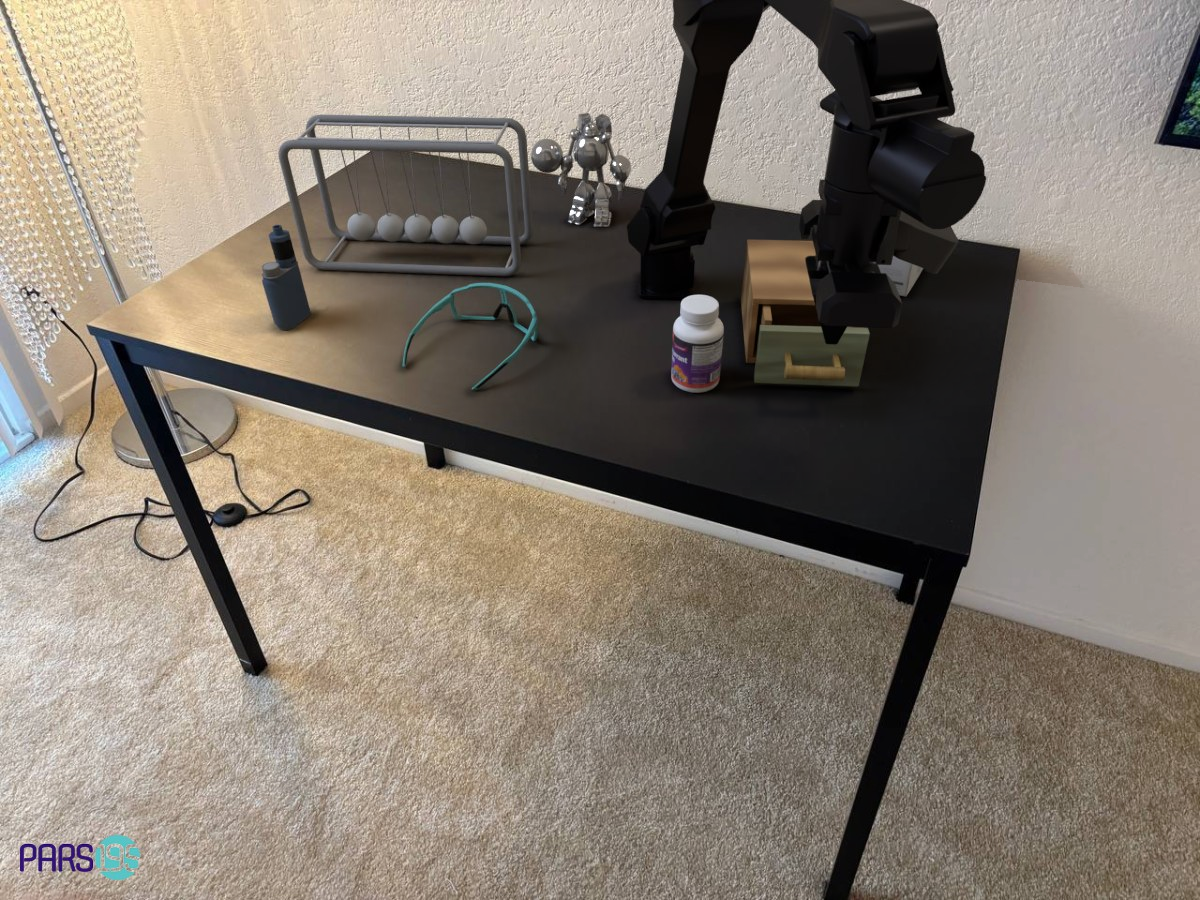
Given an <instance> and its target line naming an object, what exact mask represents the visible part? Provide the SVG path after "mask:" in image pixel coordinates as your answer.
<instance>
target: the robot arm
mask: <svg viewBox="0 0 1200 900" xmlns="http://www.w3.org/2000/svg"><path fill="white" fill-rule="evenodd" d="M770 7H771V8H772V9H773V10H774V11H775V12H777V14H779V15H781V16H782V17H783V18H784V20H786V21H788V23H790V25H792V26H793V27H794V28H796V29H797V30H798V31H799V32H800V33H801V34H803V35H804V36H805V37H806V38H807V39H809V40H810V41H811V42H812V43H813V44H814V46H815V48H817V67H818V69H819V71H820V72H821V73H822V75H823V76H824V77H825V78H826V80H827V81H828V82H829V84H830V85H831V86H832V87H833V89H834V90H833V91H832V92H831V93H829V94H827V95H825V96H824V97H823V98H822V99H821V100H820V101H819V107H820V109H821V110H822V111H824V112H826V113H828V114H830V115H832V116H833V121H832V126H831V134H830V139H829V140H830V141H829V146H828V153H827V161H826V166H825V173H824V178H823V179H819V184H818V190H817V192H818V195H819V199H811V201H809V202H808V203H807V204H805V206H803V207H802V208H801V210H800V217H799V226H798V228H799V233H800V238H801V239H802V240H808V239H809V238H810V236H811V239H812V240H811V241H813V244H814V248H815V253H816V254H815V256H807V257H806V258H805V262H806V267H807V272H808V276H809V281H810V286H811V291H812V295H813V298H814V302H815V306H816V310H817V314H818V319H819V322H820V324H821V328H822V332H823V336H824V339H825V343H826V344H831V345H836V344H838V342H839V341H840V339H841V337H842V335H843V333H844V332H845V330H846V328H847V327H864V328H878V329H880V328H882V329H893V328H894V327H896V326H897V325H899V322H900V316H901V313H902V309H903V302H902V299H901V297H900V296H901V295H899V293H898V291H897V288H896V285H895V283H894V282H893V281H892V280H891V279H890V278H889V276H888V275H887V274H886V273H881V272H880V269H879V266H878V265H891V264H892V259H893V256H894V257H896V258H898V259H900V260H903V261H905V262H908V263H911V264H913V265H916V266H919V267H921V268H923V270H924V272H926V273H928V274H931V275H937V274H939V272H940V270H941V269H942V267H943V266H944V265H945V263H946V262H947V260H948V258H949V257H950V256H951V255H952V253H953V251H954V250H955V248H956V247H957V245H959V244H958V243H959V238H958V237H957V235H956V233H955V231H954V229H953V227H952V226H954V225H956V224H957V223H959V222H960V221H962V220H963V219H965V217H966V216H967V215H968V214H970V212H971V211H972V210H973V209H974V207H975V206H976V205H977V203H978V201H979V200H980V198H981V196H982V194H983V192H984V188H985V186H986V183H987V176H986V174H985V173H986V170H985V169H986V168H985V165H984V160H983V159H982V157H981V155H980V154H979V153H976V152H975V151H974V150H972V149H973V146H974V141H975V137H976V135H975V132H974V131H971V130H969V129H968V128H965V127H961V126H953V125H951V124H949V123H947V122H945V121H943V120H941V119H942V118H947V117H952V116H954V115H955V114H956V105H955V101H954V96H953V91H954V90H955V89H954V86H953V84H952V81H951V78H950V76H949V73H948V67H947V63H946V58H945V53H944V49H943V45H942V40H941V35H940V32H939V30H938V29H939V27H940V25H939V23H938V20H937V19H936V17H935V16H934V15H933V13H932V12H931V10H929V9H927V8H926V7H923V6H920V5H918V4H915V3H912V2H910V1H907V0H672V10H673V16H672V17H673V21H672V28H673V31H674V33H675V36H676V38H677V40H678V42H679V45H680V47H681V50H682V52H683V55H682V62H681V65H680V66H681V67H680V72H679V78H678V83H677V89H676V94H675V100H674V104H673V111H672V116H671V121H670V128H669V131H668V132H669V133H668V137H667V138H668V139H667V142H666V148H665V155H664V160H663V165H662V169H661V171H660V172H659V173H658V174H657V175H656V176H655V177H654V178H653V180H652V181H651V182H650V183H649V184H648V185H647V186H646V187H645V189H644V193H643V196H642V200H641V202H640V206H639V209H638V210H637V212H636V213H635V214H634V216H633V217H632V218H631V220H630V221H629V222H628V223H627V224H626V232H627V238H628V239H627V241H628V243H629V244H630V245H631V246H632V247H633V248H634V249H635V251H637V252H638V253H639V254H640V268H639V269H640V270H639V271H640V272H639V273H640V275H639V276H640V278H639V285H638V298H640V299H660V300H661V299H663V300H666V299H667V300H683V299H684V298H686V297H688V296H691V295H690V289H693V288H694V284H695V269H696V268H695V265H696V251H695V250H693V249H692V247H695V246H702V245H704V244H705V241H706V239H707V235H708V232H709V230H712V221H713V216H714V212H715V211H716V205H715V203H714V201H713V200H712V197H711V196H710V193H709V191H708V189H707V186H706V185H705V177H706V174H707V169H708V164H709V161H710V157H711V156H710V155H711V151H712V147H713V144H714V139H715V134H716V129H717V126H718V121H719V117H720V113H721V108H722V104H723V100H724V95H725V91H726V87H727V83H728V78H729V75H730V70H731V67H732V65H733V64H734V63H735V62H736V61H737V60H738V58H740V56H742V54H743V53H744V52H745V51H746V50H747V48H748V47H749V46H750V45H751V44H752V42H753V41H754V38H755V35H756V33H757V31H758V27H759V25H760V22H761V19H762V16H763V13H765V12H766V10H768V9H769V8H770ZM917 89H918V90H919V92H920V93H918V94H912V95H905V96H901V97H895V98H889V99H881V98H878V97H879V96H885V95H891V94H896V93H903V92H908V91H909V92H910V91H915V90H917ZM873 262H876V263H873Z"/></svg>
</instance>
